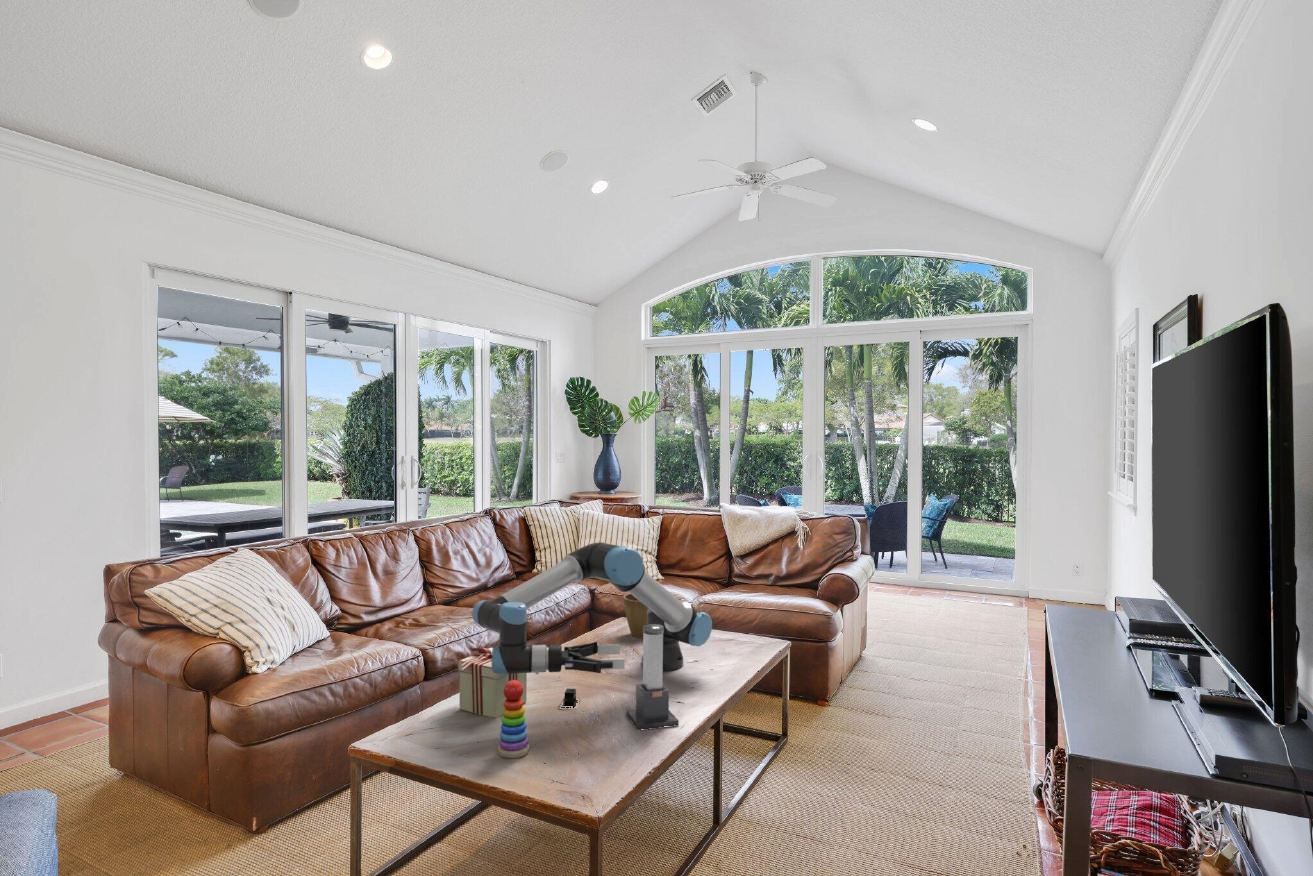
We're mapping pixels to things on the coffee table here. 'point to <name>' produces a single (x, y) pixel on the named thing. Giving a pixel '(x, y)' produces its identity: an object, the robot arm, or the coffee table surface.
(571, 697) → the black rectangular block
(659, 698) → the stand base
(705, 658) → the coffee table surface
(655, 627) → the stand post
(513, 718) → the stacking toy
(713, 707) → the coffee table surface
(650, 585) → the robot arm
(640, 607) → the plant pot
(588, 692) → the coffee table surface
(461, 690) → the gift box
